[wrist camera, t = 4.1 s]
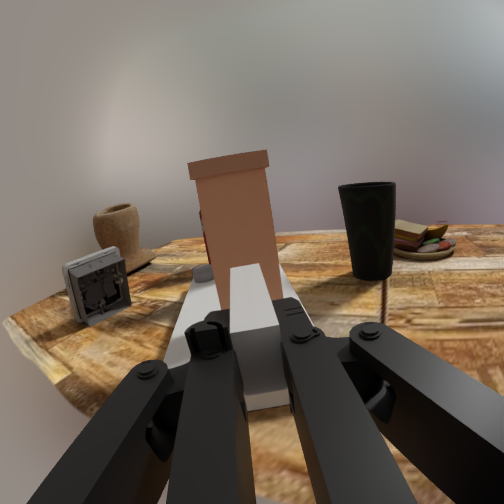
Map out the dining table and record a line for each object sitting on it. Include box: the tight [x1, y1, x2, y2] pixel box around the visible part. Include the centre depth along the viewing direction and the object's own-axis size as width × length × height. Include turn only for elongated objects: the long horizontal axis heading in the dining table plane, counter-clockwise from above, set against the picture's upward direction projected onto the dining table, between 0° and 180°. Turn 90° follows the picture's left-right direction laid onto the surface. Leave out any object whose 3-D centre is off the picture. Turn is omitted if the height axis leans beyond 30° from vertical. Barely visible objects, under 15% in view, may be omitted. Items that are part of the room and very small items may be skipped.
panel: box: [163, 264, 315, 411], centre depth 28 cm, size 26×12×4 cm, turn 4°
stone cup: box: [93, 203, 157, 275], centre depth 56 cm, size 15×12×15 cm
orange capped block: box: [188, 150, 283, 310], centre depth 22 cm, size 3×6×13 cm, turn 94°
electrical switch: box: [62, 246, 131, 327], centre depth 34 cm, size 9×5×9 cm, turn 146°
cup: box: [338, 182, 396, 281], centre depth 34 cm, size 8×8×12 cm
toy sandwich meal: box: [394, 220, 456, 260], centre depth 40 cm, size 12×14×5 cm
